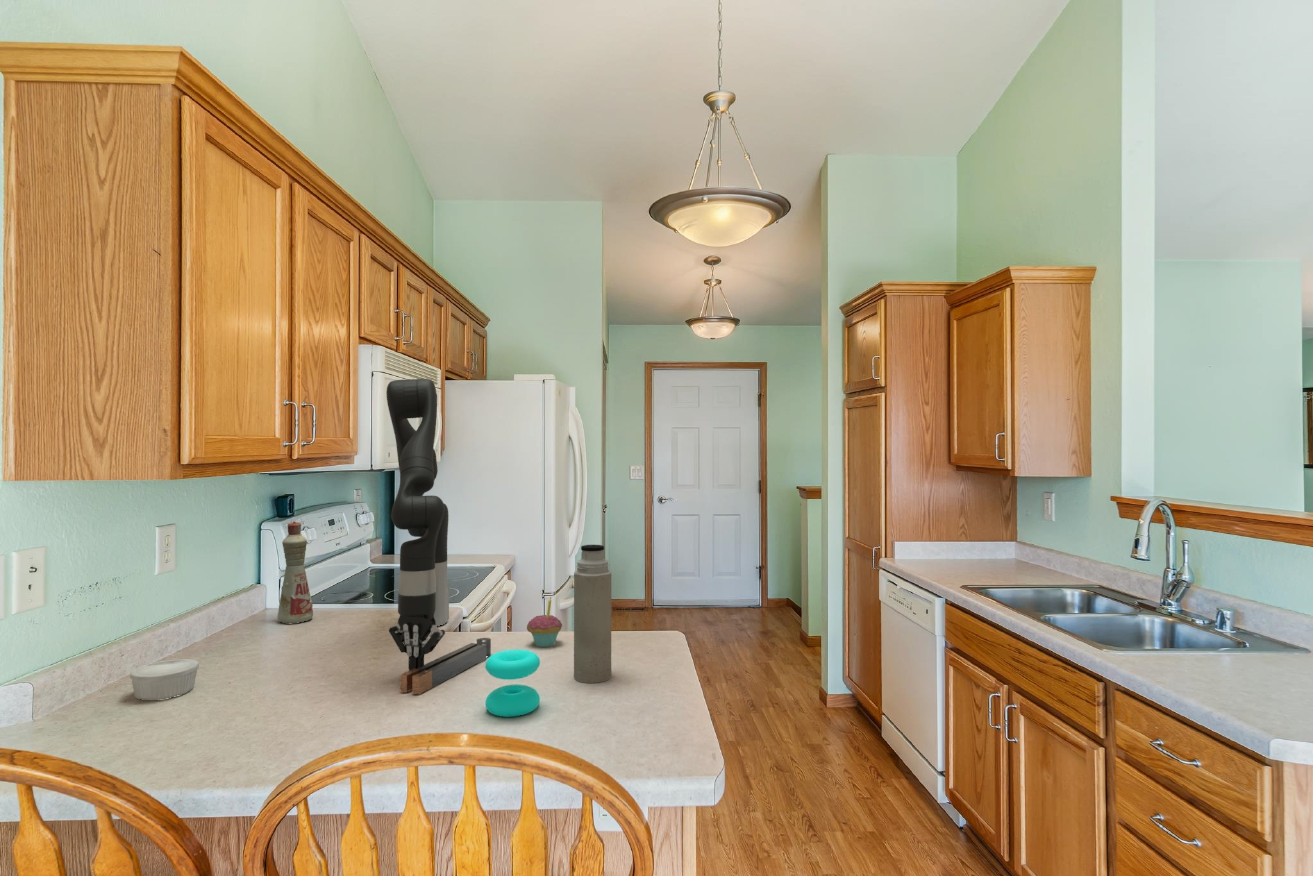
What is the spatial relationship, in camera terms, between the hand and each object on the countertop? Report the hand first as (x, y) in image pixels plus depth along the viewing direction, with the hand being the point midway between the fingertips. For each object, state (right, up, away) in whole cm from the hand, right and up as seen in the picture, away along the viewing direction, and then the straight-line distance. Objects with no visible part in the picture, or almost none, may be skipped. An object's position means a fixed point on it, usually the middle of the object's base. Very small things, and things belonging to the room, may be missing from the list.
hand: (416, 673), depth 145 cm
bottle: (-51, -2, +49) cm, 70 cm away
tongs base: (+6, -2, +5) cm, 8 cm away
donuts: (+24, -2, -15) cm, 28 cm away
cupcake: (+23, -2, +26) cm, 35 cm away
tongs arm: (+4, -1, +4) cm, 6 cm away
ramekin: (-48, -2, -7) cm, 48 cm away
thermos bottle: (+37, -2, +2) cm, 37 cm away
